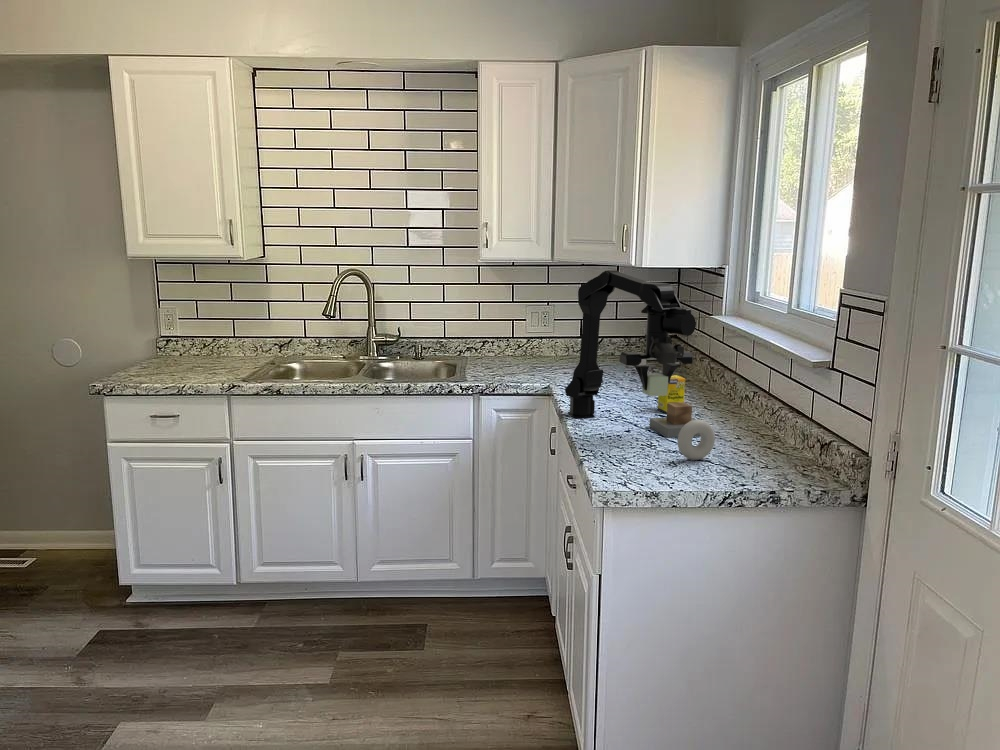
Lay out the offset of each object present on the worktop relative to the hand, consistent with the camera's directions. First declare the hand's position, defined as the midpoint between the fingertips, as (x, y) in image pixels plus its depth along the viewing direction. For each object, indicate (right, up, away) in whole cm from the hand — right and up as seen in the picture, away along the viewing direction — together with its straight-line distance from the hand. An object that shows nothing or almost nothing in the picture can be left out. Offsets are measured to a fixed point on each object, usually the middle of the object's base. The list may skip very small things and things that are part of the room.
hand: (654, 389), depth 203 cm
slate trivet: (+8, -12, +9) cm, 17 cm away
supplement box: (+11, -8, +32) cm, 34 cm away
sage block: (0, -1, 0) cm, 1 cm away
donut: (+6, -17, -18) cm, 25 cm away
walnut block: (+8, -9, +8) cm, 15 cm away
